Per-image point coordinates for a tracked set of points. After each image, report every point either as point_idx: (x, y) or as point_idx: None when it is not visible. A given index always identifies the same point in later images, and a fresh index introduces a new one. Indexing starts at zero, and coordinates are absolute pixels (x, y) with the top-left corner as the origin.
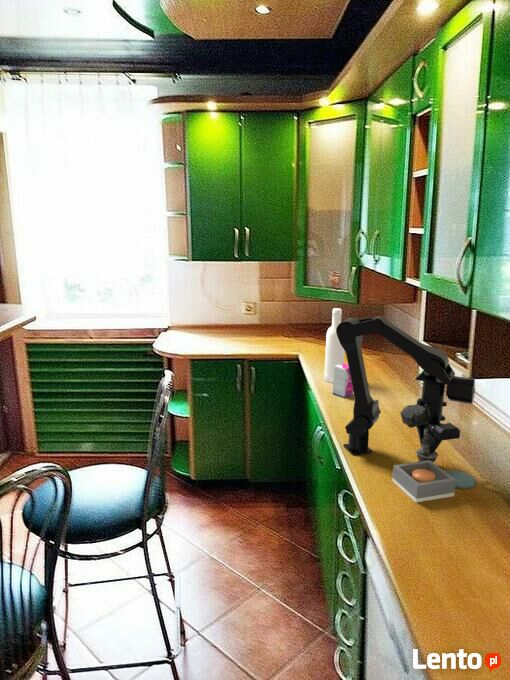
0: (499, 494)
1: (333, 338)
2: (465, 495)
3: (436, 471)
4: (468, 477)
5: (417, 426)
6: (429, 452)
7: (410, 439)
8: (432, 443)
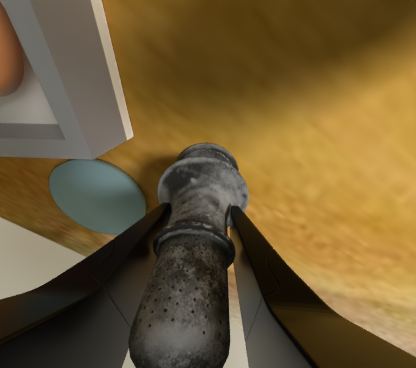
0: (48, 233)
1: None
2: (18, 167)
3: (18, 134)
4: (101, 224)
5: (299, 359)
6: (172, 203)
7: (374, 229)
8: (107, 247)
